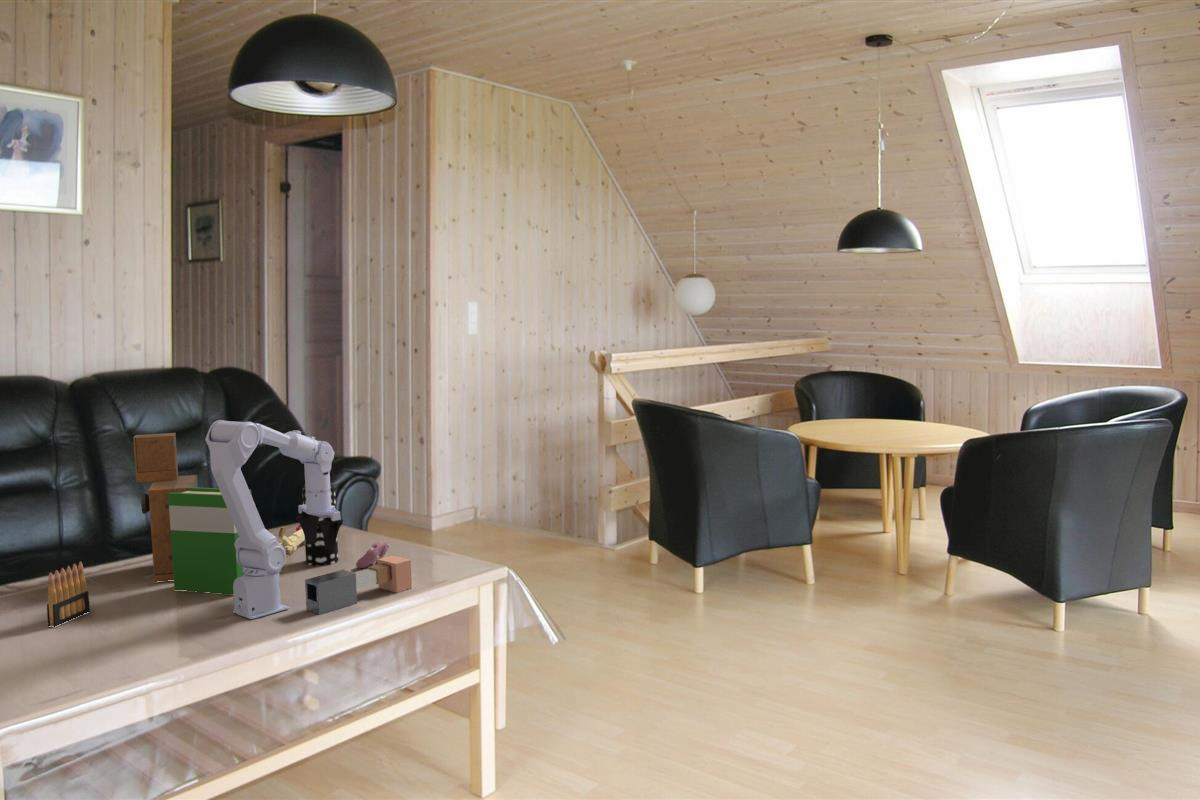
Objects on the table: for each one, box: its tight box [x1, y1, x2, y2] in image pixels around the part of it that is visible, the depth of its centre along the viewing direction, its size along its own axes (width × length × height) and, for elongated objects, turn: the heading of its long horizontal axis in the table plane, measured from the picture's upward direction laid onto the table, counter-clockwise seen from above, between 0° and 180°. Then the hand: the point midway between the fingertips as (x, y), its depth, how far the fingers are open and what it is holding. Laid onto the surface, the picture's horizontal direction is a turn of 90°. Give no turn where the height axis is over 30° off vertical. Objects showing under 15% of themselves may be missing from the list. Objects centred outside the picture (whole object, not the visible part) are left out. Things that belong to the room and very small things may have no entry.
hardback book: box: [168, 486, 253, 595], centre depth 236 cm, size 18×7×24 cm, turn 75°
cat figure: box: [278, 524, 305, 556], centre depth 279 cm, size 10×9×25 cm
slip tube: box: [353, 563, 392, 590], centre depth 229 cm, size 17×4×4 cm, turn 140°
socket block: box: [377, 555, 412, 594], centre depth 235 cm, size 4×7×7 cm, turn 50°
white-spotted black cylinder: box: [301, 484, 339, 567], centre depth 259 cm, size 8×8×20 cm
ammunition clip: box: [46, 561, 91, 627], centre depth 215 cm, size 11×2×12 cm, turn 168°
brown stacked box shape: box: [132, 432, 199, 583], centre depth 252 cm, size 19×14×35 cm
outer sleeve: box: [304, 569, 358, 615], centre depth 221 cm, size 10×5×7 cm, turn 140°
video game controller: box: [355, 541, 390, 570], centre depth 257 cm, size 10×5×7 cm, turn 169°
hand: (320, 546), depth 235 cm, fingers open, 7 cm apart
